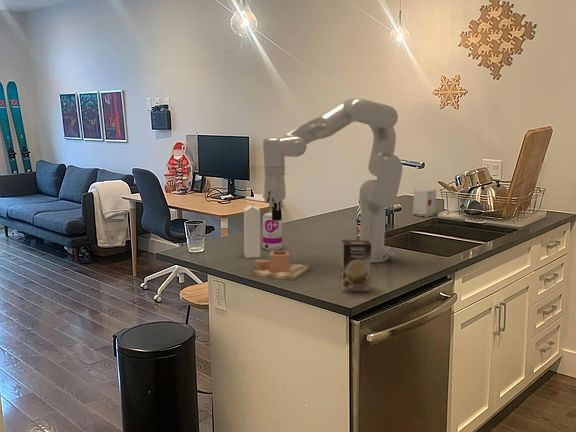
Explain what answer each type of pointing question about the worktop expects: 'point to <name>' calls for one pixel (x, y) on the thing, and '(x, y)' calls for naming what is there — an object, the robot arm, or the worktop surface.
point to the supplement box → (424, 201)
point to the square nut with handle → (275, 262)
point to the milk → (251, 231)
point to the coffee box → (355, 265)
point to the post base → (293, 273)
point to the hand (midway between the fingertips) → (277, 220)
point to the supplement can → (272, 233)
